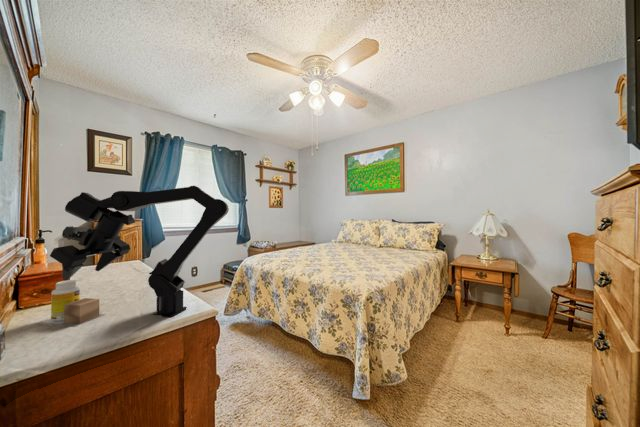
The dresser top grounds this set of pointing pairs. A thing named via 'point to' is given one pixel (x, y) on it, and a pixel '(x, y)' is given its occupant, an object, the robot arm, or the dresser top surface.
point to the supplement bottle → (63, 298)
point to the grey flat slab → (61, 323)
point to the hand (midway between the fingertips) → (81, 274)
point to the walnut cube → (81, 311)
